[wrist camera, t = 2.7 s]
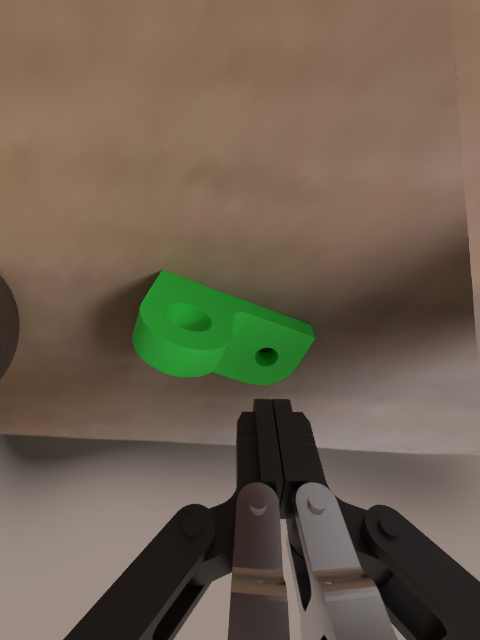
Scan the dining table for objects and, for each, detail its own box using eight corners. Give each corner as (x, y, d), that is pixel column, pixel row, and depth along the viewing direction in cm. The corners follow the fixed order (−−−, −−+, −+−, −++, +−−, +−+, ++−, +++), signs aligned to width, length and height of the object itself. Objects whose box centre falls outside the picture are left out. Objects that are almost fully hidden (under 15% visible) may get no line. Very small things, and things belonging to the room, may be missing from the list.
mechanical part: (143, 334, 24) (104, 410, 17) (162, 269, 21) (125, 328, 14) (277, 377, 26) (290, 459, 20) (310, 323, 24) (339, 397, 17)
